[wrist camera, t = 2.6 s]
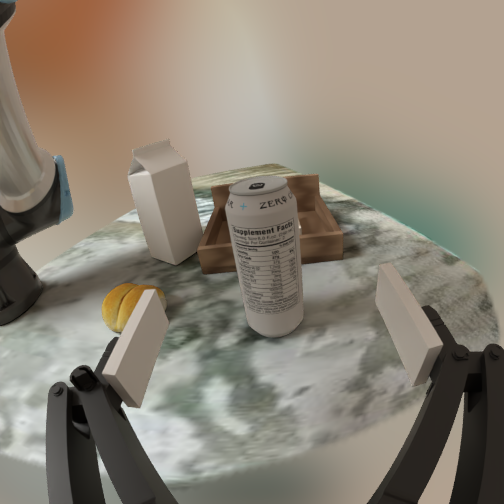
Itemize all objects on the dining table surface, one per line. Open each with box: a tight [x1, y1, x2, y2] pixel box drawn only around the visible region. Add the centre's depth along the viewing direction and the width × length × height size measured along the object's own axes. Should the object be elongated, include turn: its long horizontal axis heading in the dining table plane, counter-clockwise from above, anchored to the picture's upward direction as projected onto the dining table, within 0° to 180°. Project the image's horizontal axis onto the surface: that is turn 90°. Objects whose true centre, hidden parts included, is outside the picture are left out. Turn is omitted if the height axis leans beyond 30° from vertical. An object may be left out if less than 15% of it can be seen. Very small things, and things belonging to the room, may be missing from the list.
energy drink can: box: [225, 176, 304, 337], centre depth 26 cm, size 6×6×15 cm
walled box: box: [197, 174, 343, 274], centre depth 46 cm, size 20×18×8 cm
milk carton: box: [128, 139, 203, 265], centre depth 44 cm, size 7×7×19 cm
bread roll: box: [102, 283, 167, 332], centre depth 33 cm, size 8×9×4 cm
